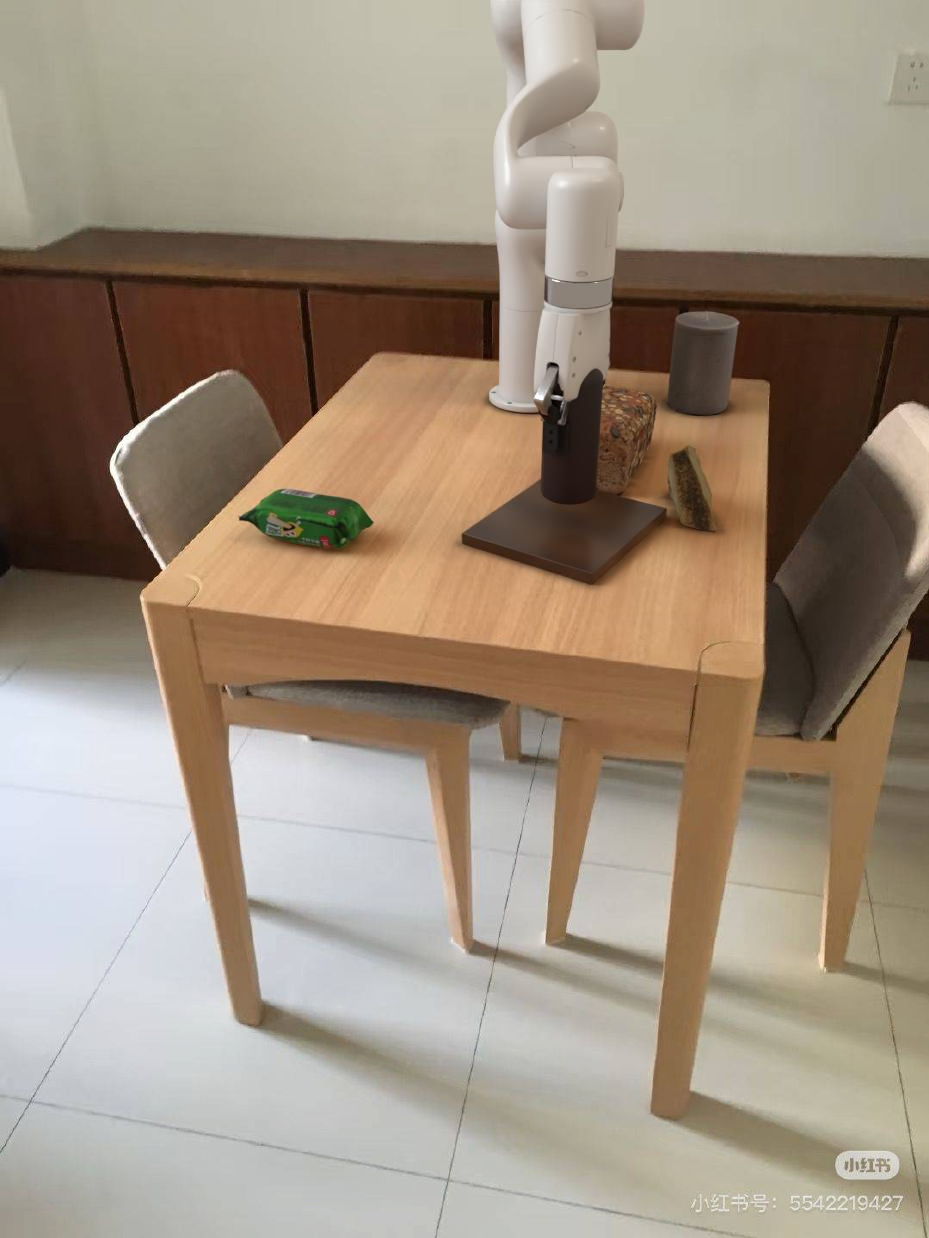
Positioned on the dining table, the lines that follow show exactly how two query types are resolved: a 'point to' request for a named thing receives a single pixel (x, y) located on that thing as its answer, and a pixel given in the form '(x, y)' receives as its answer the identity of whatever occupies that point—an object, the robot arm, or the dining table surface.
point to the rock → (690, 490)
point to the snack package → (309, 518)
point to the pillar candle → (701, 362)
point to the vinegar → (576, 447)
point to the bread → (623, 436)
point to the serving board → (565, 532)
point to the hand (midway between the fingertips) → (570, 442)
